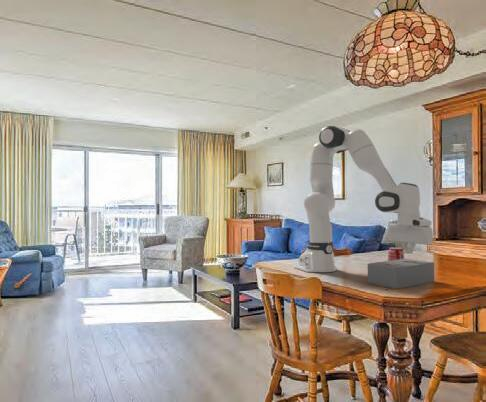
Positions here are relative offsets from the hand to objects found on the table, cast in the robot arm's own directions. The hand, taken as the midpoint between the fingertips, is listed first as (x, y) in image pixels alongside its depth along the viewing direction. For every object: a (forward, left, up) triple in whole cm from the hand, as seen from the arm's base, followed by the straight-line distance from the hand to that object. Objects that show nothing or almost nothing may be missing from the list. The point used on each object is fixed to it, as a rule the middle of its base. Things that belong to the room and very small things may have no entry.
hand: (408, 253), depth 164 cm
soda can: (-13, +9, -12) cm, 20 cm away
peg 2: (0, 0, -11) cm, 11 cm away
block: (+1, -6, -12) cm, 13 cm away
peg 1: (0, -12, -11) cm, 16 cm away
